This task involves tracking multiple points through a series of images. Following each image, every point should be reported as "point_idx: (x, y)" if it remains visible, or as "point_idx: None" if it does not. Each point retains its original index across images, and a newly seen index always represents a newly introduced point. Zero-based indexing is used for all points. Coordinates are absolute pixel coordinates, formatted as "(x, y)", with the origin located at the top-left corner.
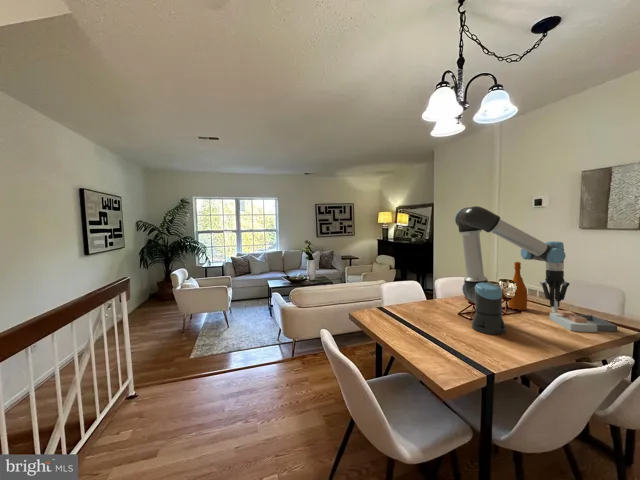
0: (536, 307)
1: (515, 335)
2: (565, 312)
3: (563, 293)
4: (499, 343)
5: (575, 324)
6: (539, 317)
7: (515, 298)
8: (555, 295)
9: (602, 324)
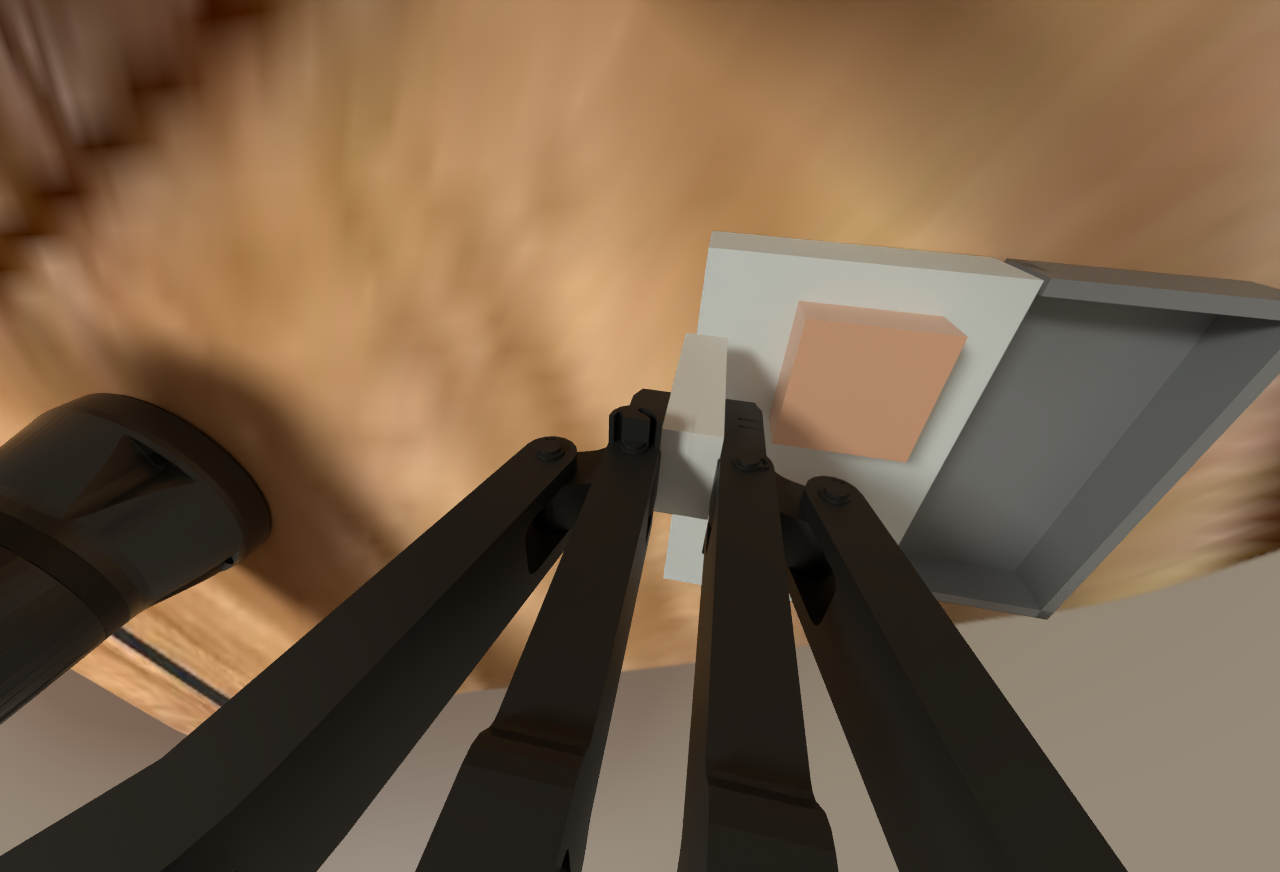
0: None
1: (320, 560)
2: (818, 415)
3: (845, 705)
4: (257, 615)
5: (697, 582)
6: (623, 160)
7: None
8: (714, 543)
9: (1105, 466)
